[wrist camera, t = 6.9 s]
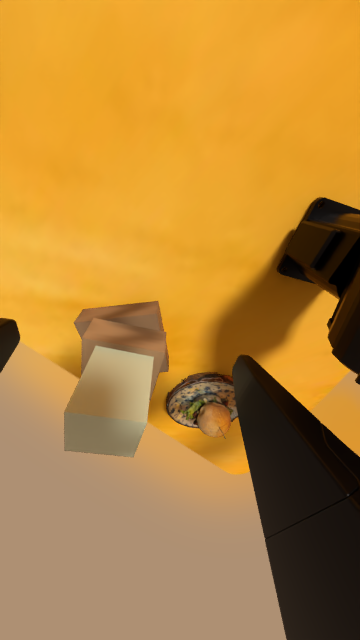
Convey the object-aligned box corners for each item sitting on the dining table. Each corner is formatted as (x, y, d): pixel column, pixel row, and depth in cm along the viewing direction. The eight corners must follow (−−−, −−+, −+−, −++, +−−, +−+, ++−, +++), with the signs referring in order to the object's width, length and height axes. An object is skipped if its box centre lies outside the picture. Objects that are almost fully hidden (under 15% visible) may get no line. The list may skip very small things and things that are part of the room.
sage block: (153, 357, 18) (146, 422, 13) (142, 391, 21) (133, 457, 16) (95, 345, 17) (64, 412, 12) (91, 383, 20) (64, 450, 15)
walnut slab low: (158, 298, 21) (156, 313, 19) (168, 353, 26) (168, 371, 23) (84, 306, 22) (73, 322, 19) (107, 359, 26) (100, 378, 24)
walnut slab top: (166, 332, 20) (165, 352, 18) (152, 377, 24) (150, 400, 21) (93, 317, 19) (81, 337, 16) (91, 368, 23) (81, 390, 20)
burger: (151, 400, 31) (146, 454, 25) (207, 357, 26) (218, 410, 20) (205, 426, 36) (212, 477, 29) (260, 394, 31) (282, 446, 25)
